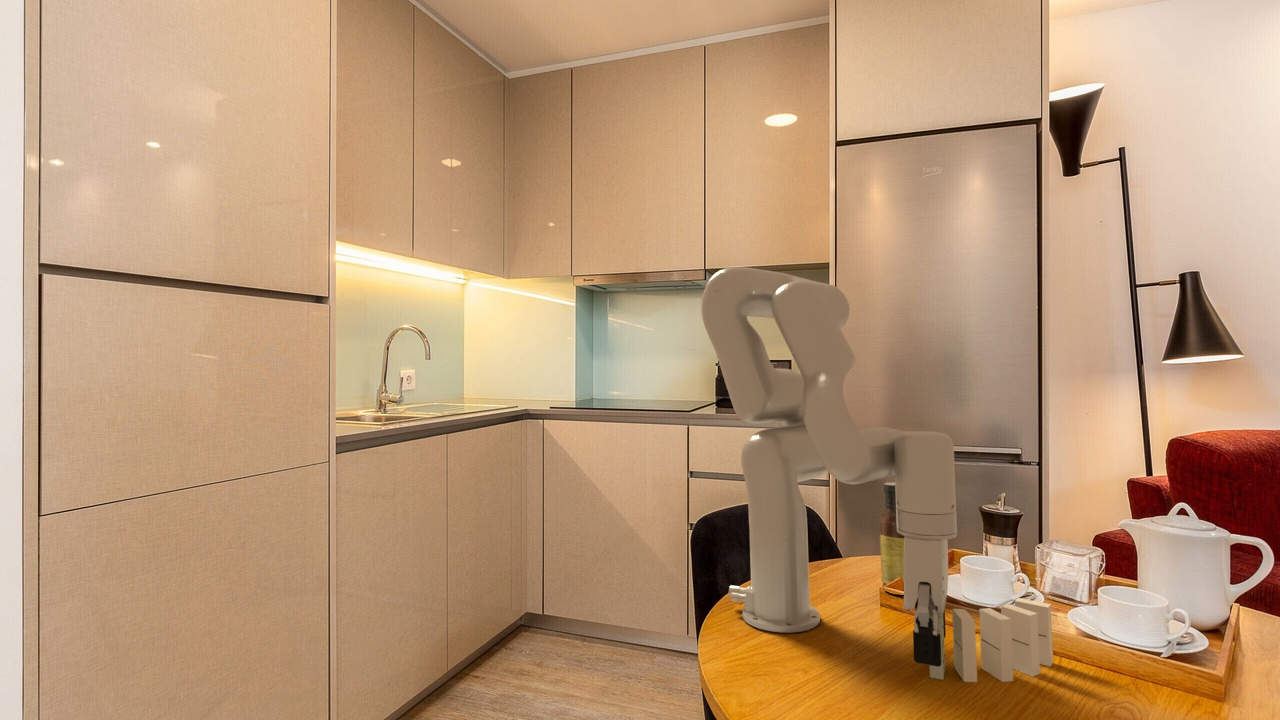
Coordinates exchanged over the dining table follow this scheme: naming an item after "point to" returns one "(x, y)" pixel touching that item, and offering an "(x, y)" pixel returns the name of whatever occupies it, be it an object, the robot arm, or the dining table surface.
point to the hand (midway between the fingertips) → (930, 649)
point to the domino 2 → (996, 644)
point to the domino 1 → (964, 645)
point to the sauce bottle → (891, 539)
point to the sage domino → (939, 671)
